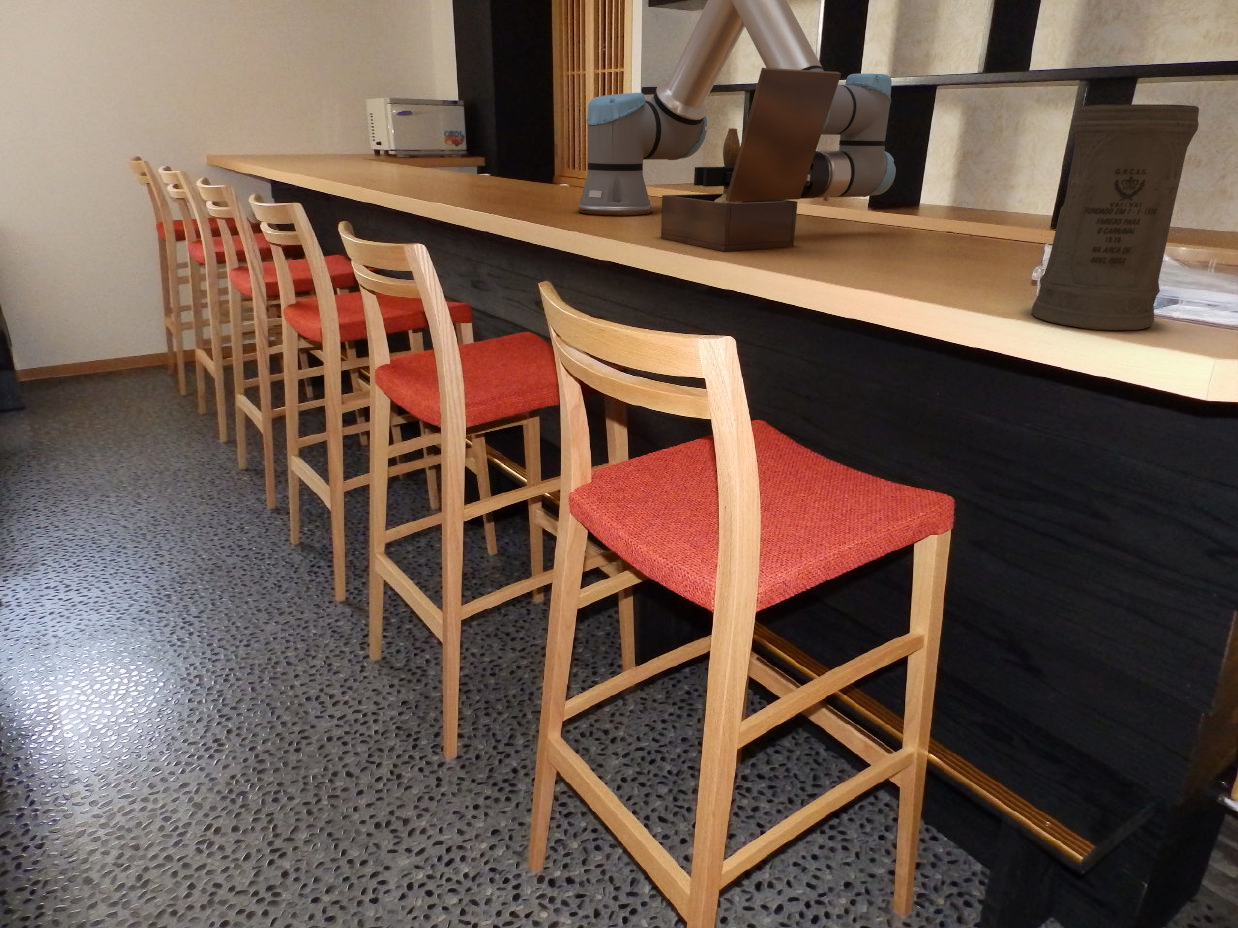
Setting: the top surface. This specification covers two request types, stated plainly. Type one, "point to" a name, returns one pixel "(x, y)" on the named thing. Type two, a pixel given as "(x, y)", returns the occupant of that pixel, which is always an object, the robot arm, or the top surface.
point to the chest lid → (782, 134)
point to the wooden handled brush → (729, 158)
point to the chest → (728, 222)
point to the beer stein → (1116, 216)
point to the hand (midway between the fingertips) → (700, 176)
